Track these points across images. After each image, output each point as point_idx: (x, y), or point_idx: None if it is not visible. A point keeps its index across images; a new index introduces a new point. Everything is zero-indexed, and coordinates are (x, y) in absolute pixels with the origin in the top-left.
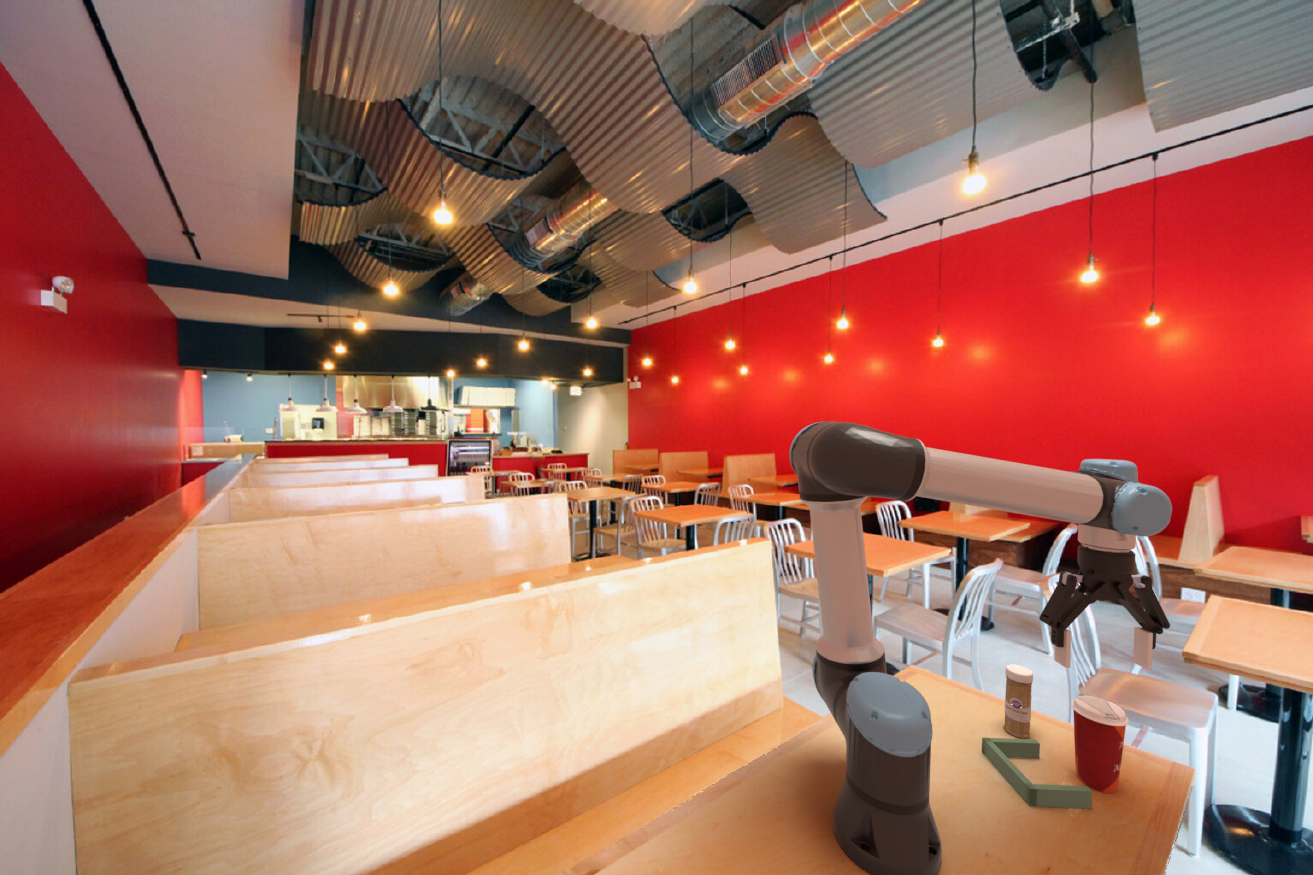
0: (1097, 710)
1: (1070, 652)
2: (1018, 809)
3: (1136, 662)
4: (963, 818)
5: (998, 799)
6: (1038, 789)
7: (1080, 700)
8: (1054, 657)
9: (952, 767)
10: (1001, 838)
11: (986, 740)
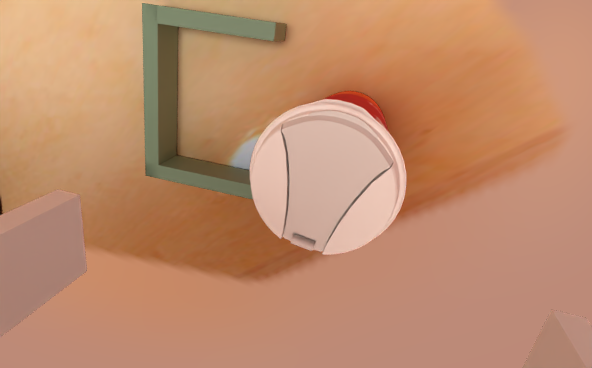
0: (283, 213)
1: (6, 332)
2: (142, 168)
3: (542, 339)
4: (51, 171)
5: (122, 143)
6: (160, 178)
7: (280, 150)
8: (42, 197)
9: (81, 52)
10: (86, 210)
11: (145, 17)
